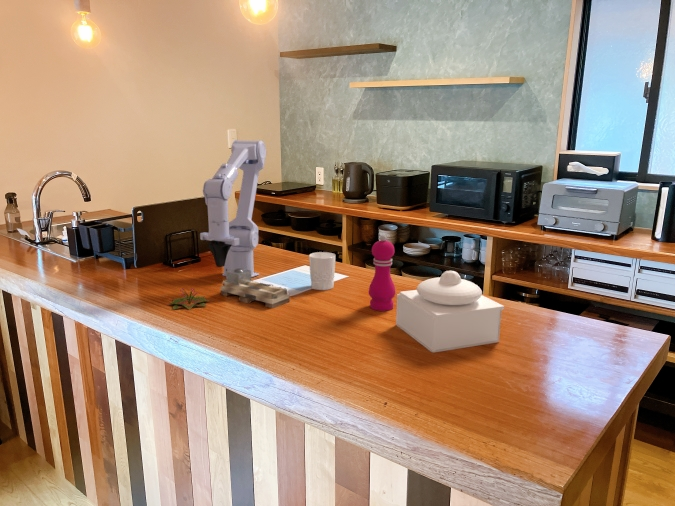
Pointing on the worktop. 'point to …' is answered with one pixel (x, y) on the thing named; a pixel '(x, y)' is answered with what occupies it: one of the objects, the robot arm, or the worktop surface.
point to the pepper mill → (382, 276)
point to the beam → (256, 293)
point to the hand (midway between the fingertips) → (220, 266)
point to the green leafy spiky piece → (188, 301)
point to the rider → (238, 276)
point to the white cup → (322, 270)
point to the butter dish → (448, 314)
